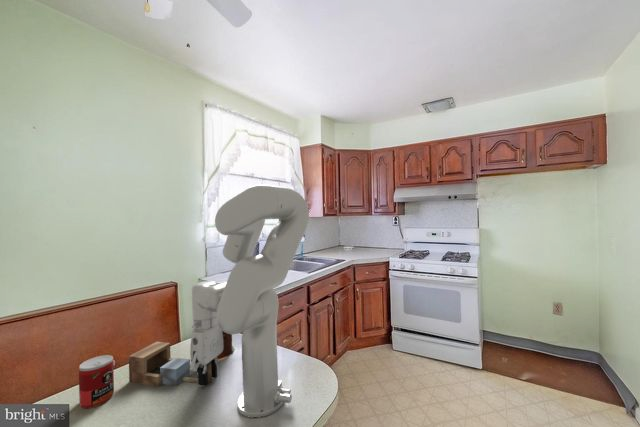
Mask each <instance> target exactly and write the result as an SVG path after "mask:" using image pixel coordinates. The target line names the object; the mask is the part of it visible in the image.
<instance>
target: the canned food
mask: <svg viewBox="0 0 640 427" xmlns="http://www.w3.org/2000/svg"><path fill="white" fill-rule="evenodd" d="M114 381H115V380H114V357H113V355H109V354H106V355H104V354H103V355H99V356H95V357H91V358H89V359H87V360H85V361H83V362H82V363H81V364H79V367H78V395H79V397H78V400H79V405H80V407H81V408H83V409H92V408H95V407H97V406H101V405H102V404H105V403H107V402H108V401H109V400H110V399H112V397H113V395H114V393H115V392H114V391H115V390H114V389H115V384H114Z"/></svg>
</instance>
